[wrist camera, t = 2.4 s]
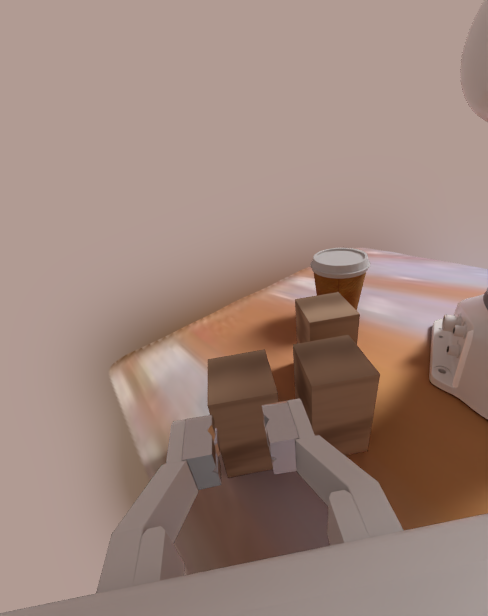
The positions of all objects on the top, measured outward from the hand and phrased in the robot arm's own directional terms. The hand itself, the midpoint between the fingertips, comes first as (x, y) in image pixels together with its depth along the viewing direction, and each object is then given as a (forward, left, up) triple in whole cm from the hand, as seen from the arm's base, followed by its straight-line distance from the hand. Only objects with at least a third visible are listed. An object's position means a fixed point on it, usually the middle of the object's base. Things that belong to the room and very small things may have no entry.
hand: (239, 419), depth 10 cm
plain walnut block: (-11, -6, -20) cm, 23 cm away
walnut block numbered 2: (-25, +1, -20) cm, 32 cm away
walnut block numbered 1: (-15, +2, -20) cm, 25 cm away
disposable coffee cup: (-40, +1, -20) cm, 45 cm away
